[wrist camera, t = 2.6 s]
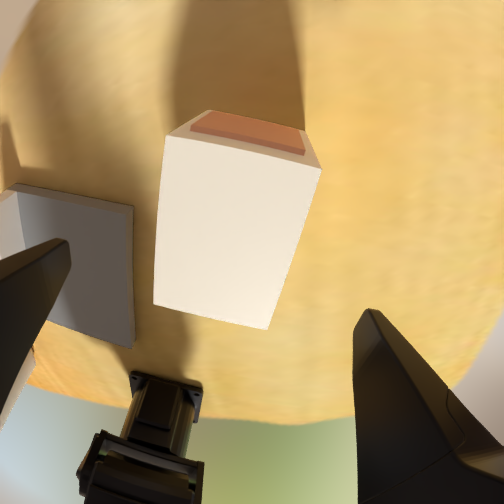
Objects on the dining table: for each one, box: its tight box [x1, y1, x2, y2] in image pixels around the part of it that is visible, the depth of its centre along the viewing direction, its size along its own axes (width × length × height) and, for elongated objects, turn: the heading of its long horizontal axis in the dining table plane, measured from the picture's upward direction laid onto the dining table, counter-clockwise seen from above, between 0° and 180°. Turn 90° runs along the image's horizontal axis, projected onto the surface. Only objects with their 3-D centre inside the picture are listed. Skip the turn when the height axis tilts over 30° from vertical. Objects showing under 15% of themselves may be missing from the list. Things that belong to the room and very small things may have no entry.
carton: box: [153, 110, 322, 330], centre depth 13 cm, size 7×4×6 cm
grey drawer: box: [0, 183, 136, 349], centre depth 18 cm, size 11×9×4 cm
